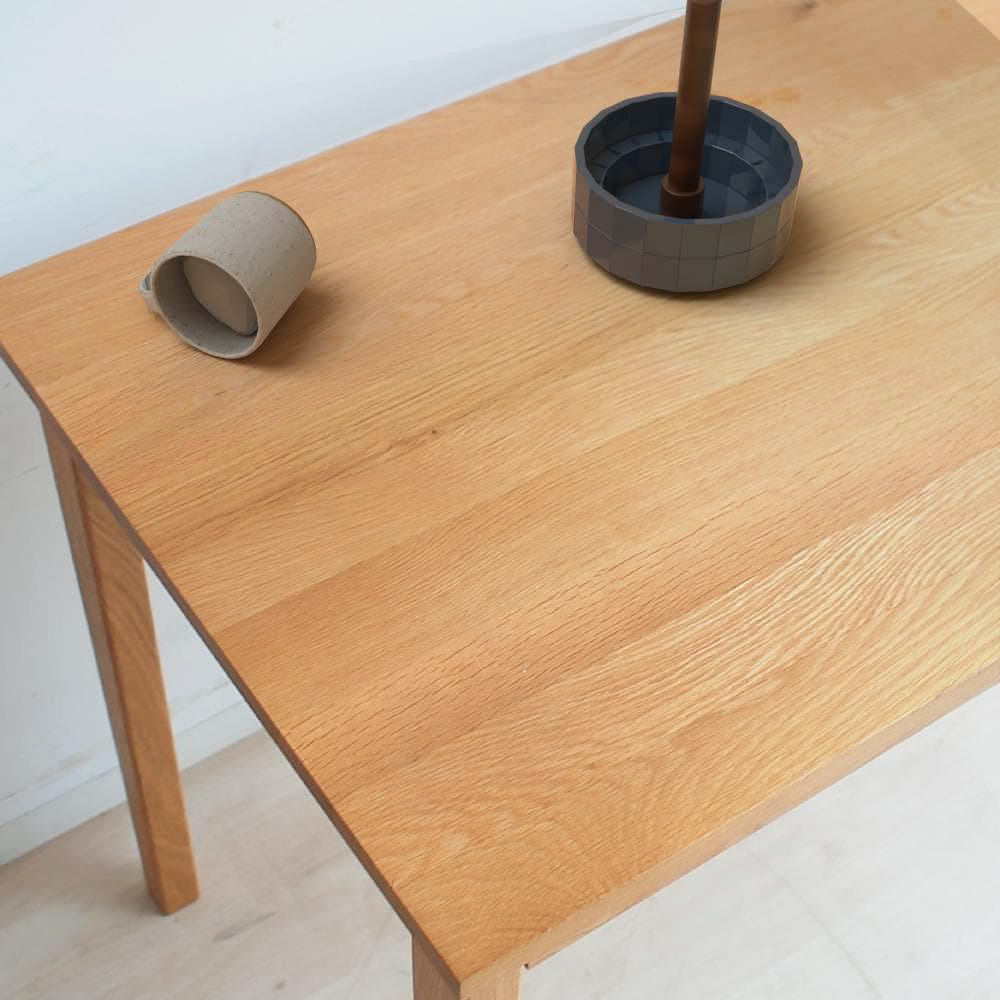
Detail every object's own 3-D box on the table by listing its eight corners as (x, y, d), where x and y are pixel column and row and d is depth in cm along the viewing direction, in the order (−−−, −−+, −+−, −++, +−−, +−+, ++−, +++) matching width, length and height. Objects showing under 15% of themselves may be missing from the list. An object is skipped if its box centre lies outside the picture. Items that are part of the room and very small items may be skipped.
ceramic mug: (331, 290, 91) (317, 189, 85) (270, 373, 86) (251, 271, 80) (184, 254, 94) (161, 153, 88) (117, 332, 89) (88, 231, 83)
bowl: (729, 150, 101) (739, 74, 97) (826, 272, 92) (843, 195, 88) (540, 192, 98) (542, 115, 94) (622, 322, 89) (628, 245, 85)
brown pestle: (689, 203, 96) (716, -22, 84) (707, 228, 94) (737, 2, 82) (651, 212, 95) (672, -13, 83) (668, 237, 94) (693, 10, 82)
